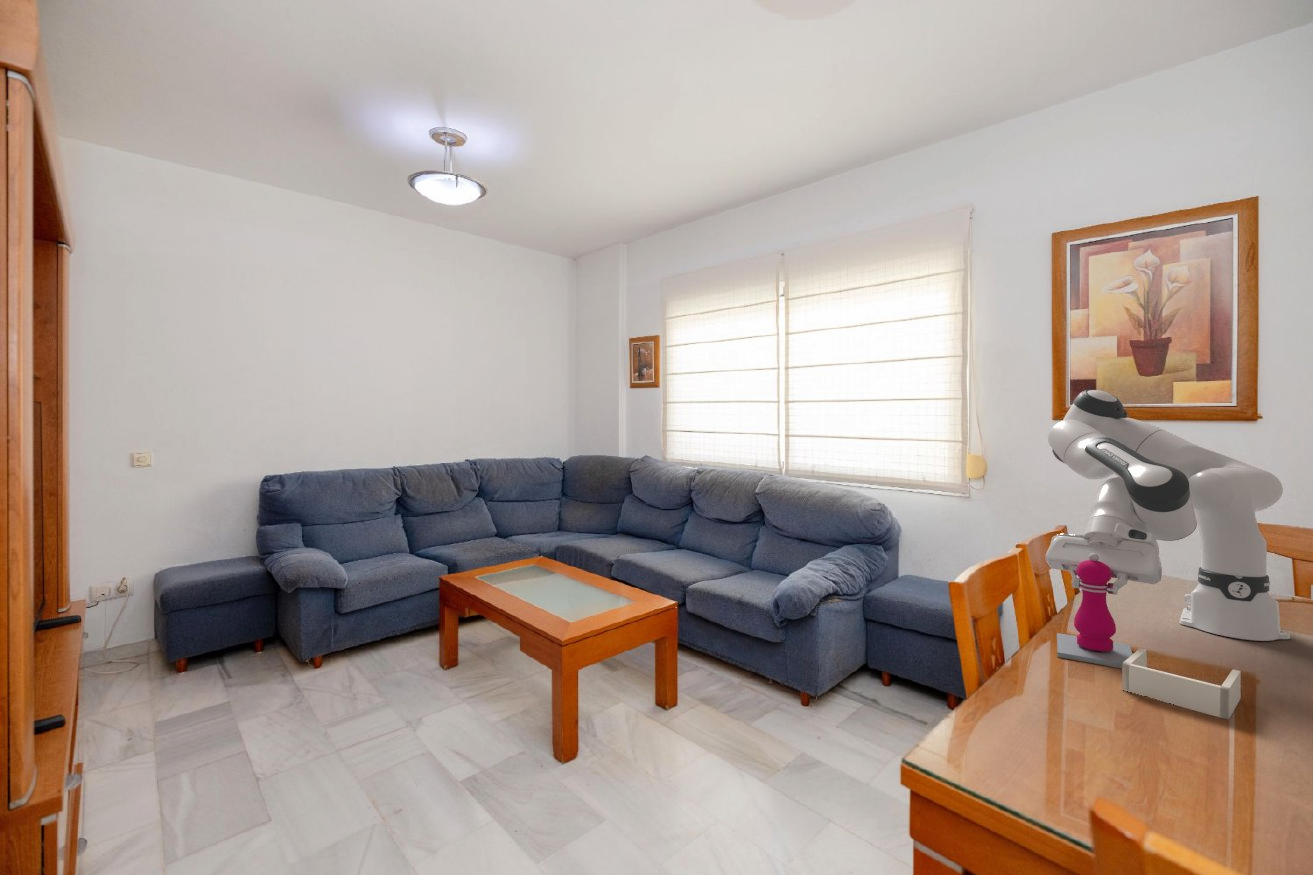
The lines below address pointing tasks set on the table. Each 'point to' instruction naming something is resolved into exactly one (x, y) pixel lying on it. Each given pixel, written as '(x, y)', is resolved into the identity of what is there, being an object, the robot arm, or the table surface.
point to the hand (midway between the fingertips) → (1093, 589)
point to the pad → (1092, 652)
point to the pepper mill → (1094, 606)
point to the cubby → (1181, 687)
